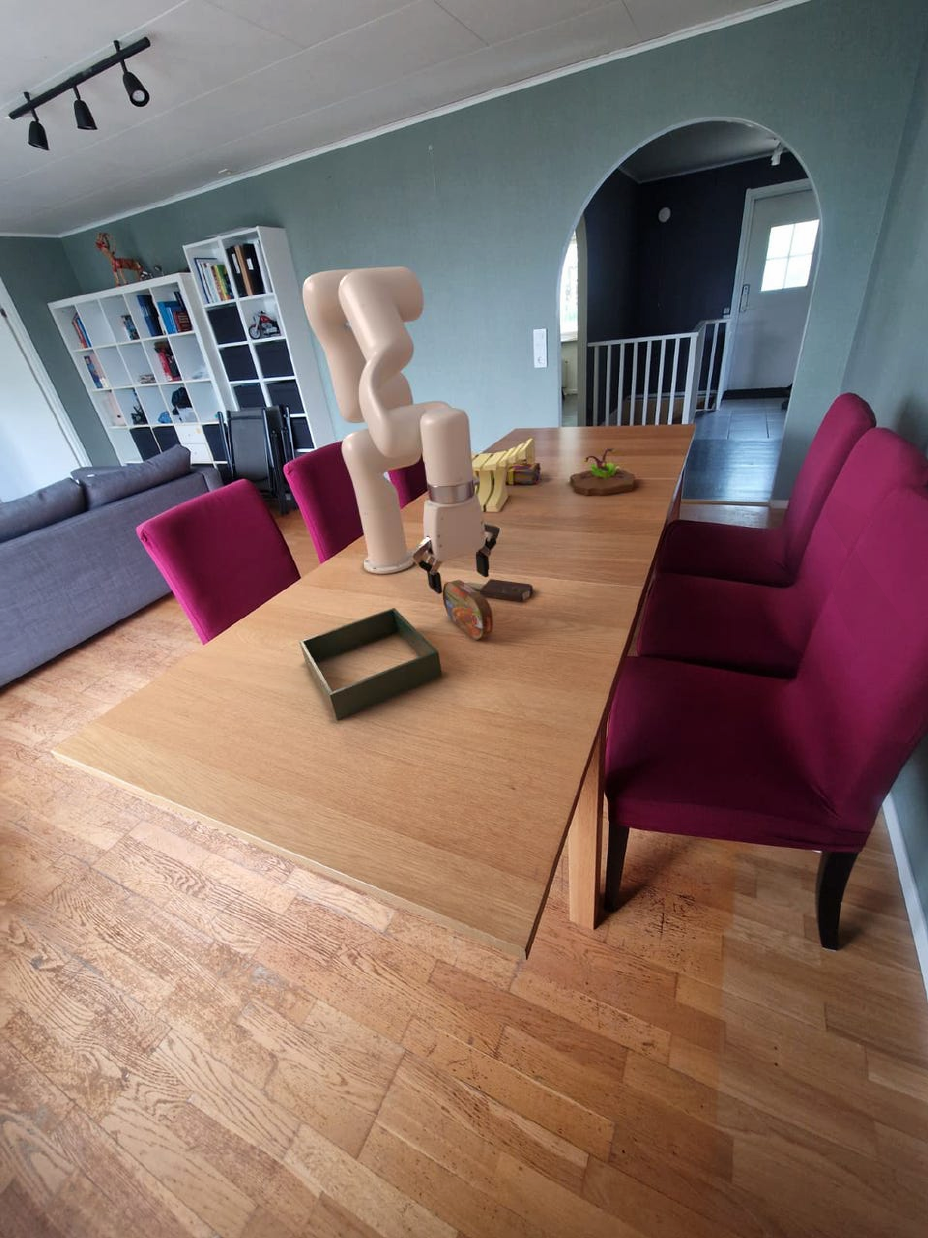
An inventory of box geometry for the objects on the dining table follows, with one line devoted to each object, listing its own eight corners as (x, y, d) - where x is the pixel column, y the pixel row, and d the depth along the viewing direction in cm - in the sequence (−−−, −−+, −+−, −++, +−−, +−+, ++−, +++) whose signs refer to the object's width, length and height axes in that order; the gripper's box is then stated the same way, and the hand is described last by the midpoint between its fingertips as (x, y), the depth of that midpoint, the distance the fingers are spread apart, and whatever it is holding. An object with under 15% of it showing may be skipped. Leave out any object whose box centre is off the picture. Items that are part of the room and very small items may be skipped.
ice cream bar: (459, 593, 109) (525, 603, 103) (458, 586, 108) (525, 596, 102) (470, 582, 113) (534, 591, 107) (469, 575, 112) (534, 584, 106)
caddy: (306, 664, 92) (299, 641, 89) (398, 630, 99) (394, 607, 96) (337, 720, 78) (329, 695, 75) (442, 676, 85) (438, 651, 82)
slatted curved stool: (536, 494, 161) (534, 435, 152) (527, 511, 148) (524, 448, 139) (446, 494, 170) (439, 439, 160) (430, 511, 157) (422, 452, 148)
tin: (443, 614, 102) (438, 576, 98) (457, 609, 103) (452, 571, 99) (482, 648, 91) (479, 607, 86) (497, 642, 92) (494, 601, 87)
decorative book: (499, 475, 183) (498, 460, 181) (543, 475, 178) (543, 460, 175) (490, 484, 174) (488, 469, 172) (536, 485, 169) (536, 469, 166)
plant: (643, 492, 153) (647, 453, 147) (577, 497, 154) (578, 460, 148) (626, 473, 170) (628, 438, 164) (567, 479, 171) (567, 444, 165)
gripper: (483, 473, 90) (489, 561, 99) (393, 497, 83) (408, 589, 92) (507, 483, 84) (511, 575, 93) (413, 509, 77) (427, 606, 87)
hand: (460, 582), depth 93 cm, fingers open, 9 cm apart
